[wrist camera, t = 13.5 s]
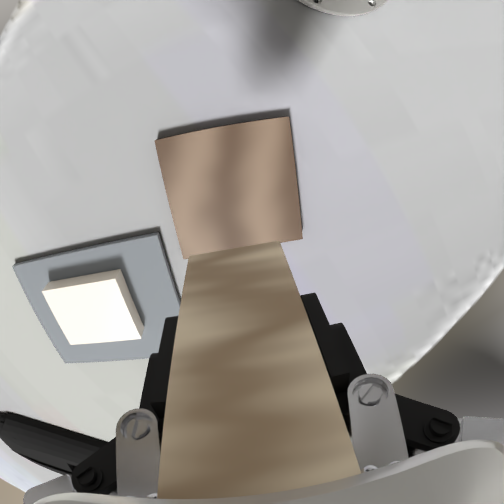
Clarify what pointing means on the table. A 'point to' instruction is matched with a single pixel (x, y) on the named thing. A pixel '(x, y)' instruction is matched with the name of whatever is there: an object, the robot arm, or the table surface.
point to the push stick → (248, 385)
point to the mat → (138, 282)
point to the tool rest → (232, 185)
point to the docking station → (47, 443)
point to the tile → (94, 308)
